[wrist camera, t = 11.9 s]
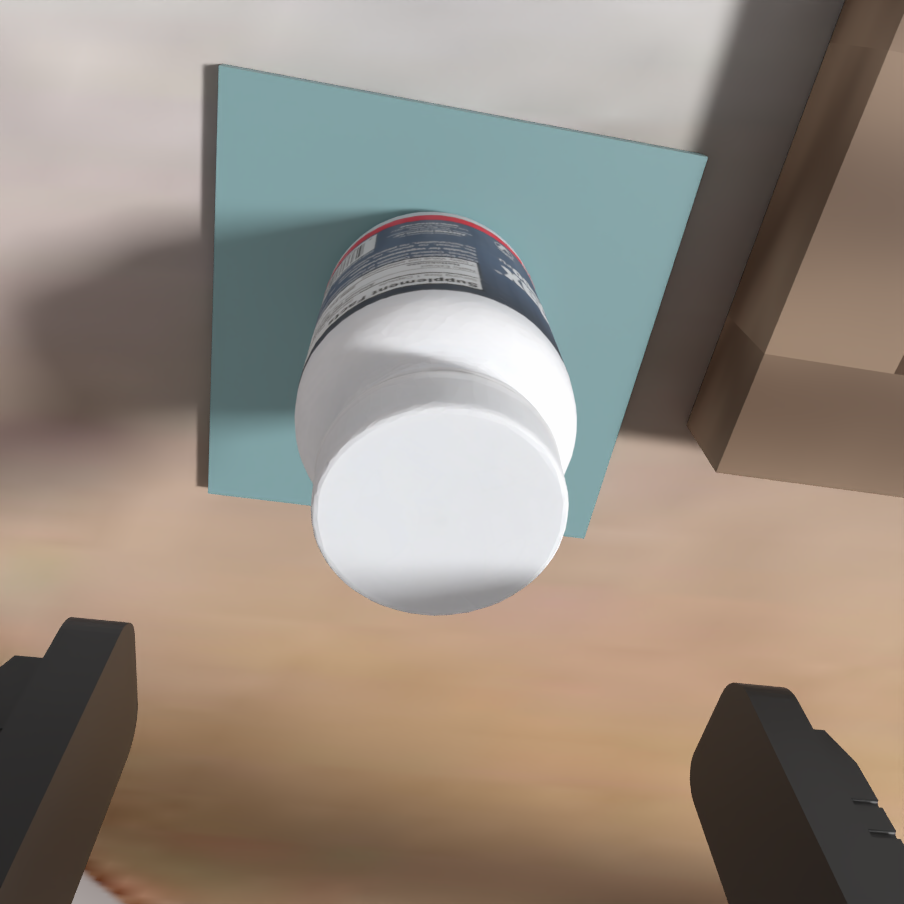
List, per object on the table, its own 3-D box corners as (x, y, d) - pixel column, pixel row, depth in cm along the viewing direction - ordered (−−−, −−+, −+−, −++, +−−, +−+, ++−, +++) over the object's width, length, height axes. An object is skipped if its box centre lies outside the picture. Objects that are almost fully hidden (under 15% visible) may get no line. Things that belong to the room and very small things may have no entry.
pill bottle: (548, 386, 21) (626, 621, 13) (356, 423, 21) (324, 673, 14) (517, 184, 18) (594, 334, 10) (298, 231, 18) (217, 409, 11)
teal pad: (581, 530, 24) (583, 538, 23) (211, 485, 22) (208, 493, 22) (702, 154, 18) (708, 157, 18) (222, 63, 17) (218, 65, 17)
